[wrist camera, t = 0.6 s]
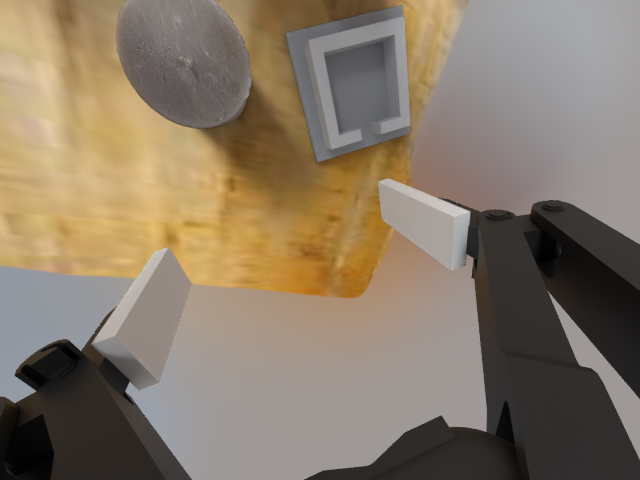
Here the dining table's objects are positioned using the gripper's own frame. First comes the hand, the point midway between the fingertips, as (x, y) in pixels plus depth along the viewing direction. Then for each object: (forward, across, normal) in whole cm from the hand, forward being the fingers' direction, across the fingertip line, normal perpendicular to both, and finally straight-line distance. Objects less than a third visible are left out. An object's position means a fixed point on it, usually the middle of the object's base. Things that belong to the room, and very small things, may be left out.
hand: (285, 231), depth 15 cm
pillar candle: (+26, -3, +11) cm, 28 cm away
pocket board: (+25, +16, +7) cm, 31 cm away
